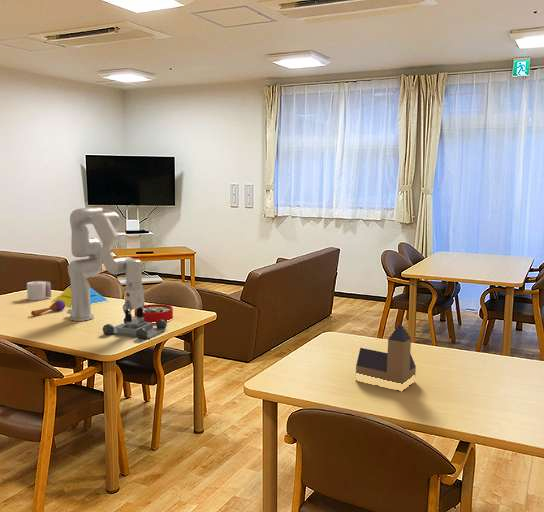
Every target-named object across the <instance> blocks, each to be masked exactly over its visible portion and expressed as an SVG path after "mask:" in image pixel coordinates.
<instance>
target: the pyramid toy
mask: <svg viewBox="0 0 544 512" xmlns="http://www.w3.org/2000/svg"><path fill="white" fill-rule="evenodd" d="M57 300H62V301H63V302H64V303H65V305H67V306H66V307H68V306H72V301H71V285H70V287H68V288H66V289H65V290H64V291H63V292H61V293H60V294H59V295H58V296H57V297H54V299H53V300H52V301H51V303H52V302H56V301H57ZM106 300H108V299H107V298H105V297H104V296H103V295H101V294H100V293H99V292H97V291H96V290H95V289H94V288H92V287H91V286H90V304H92V303H97V302H101V303H103V302H102V301H106ZM106 302H107V301H106ZM97 304H98V303H97ZM92 305H93V304H92Z"/></svg>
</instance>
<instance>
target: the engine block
mask: <svg viewBox="0 0 544 512" xmlns="http://www.w3.org/2000/svg"><path fill="white" fill-rule="evenodd" d="M142 326H144V318H143V317H135V315H134V316H132V322H126V328H130V329H138V328H140V327H142Z"/></svg>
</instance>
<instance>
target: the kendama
mask: <svg viewBox="0 0 544 512" xmlns="http://www.w3.org/2000/svg"><path fill="white" fill-rule="evenodd" d="M65 307H66V306H65V303H64V302H63V301H62V300H57V301H56V302H55V303H52V304H50V306H49V307H46V308H41V309H36V310H31V313H30V315H31V316H32V315H33V316H32V317H34V316H35V317H37V316H40V315H41V314H43V313H46V312H48V311H49V310H50V311H58V310H61V311H63V310H64V309H65ZM36 315H37V316H36Z"/></svg>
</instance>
